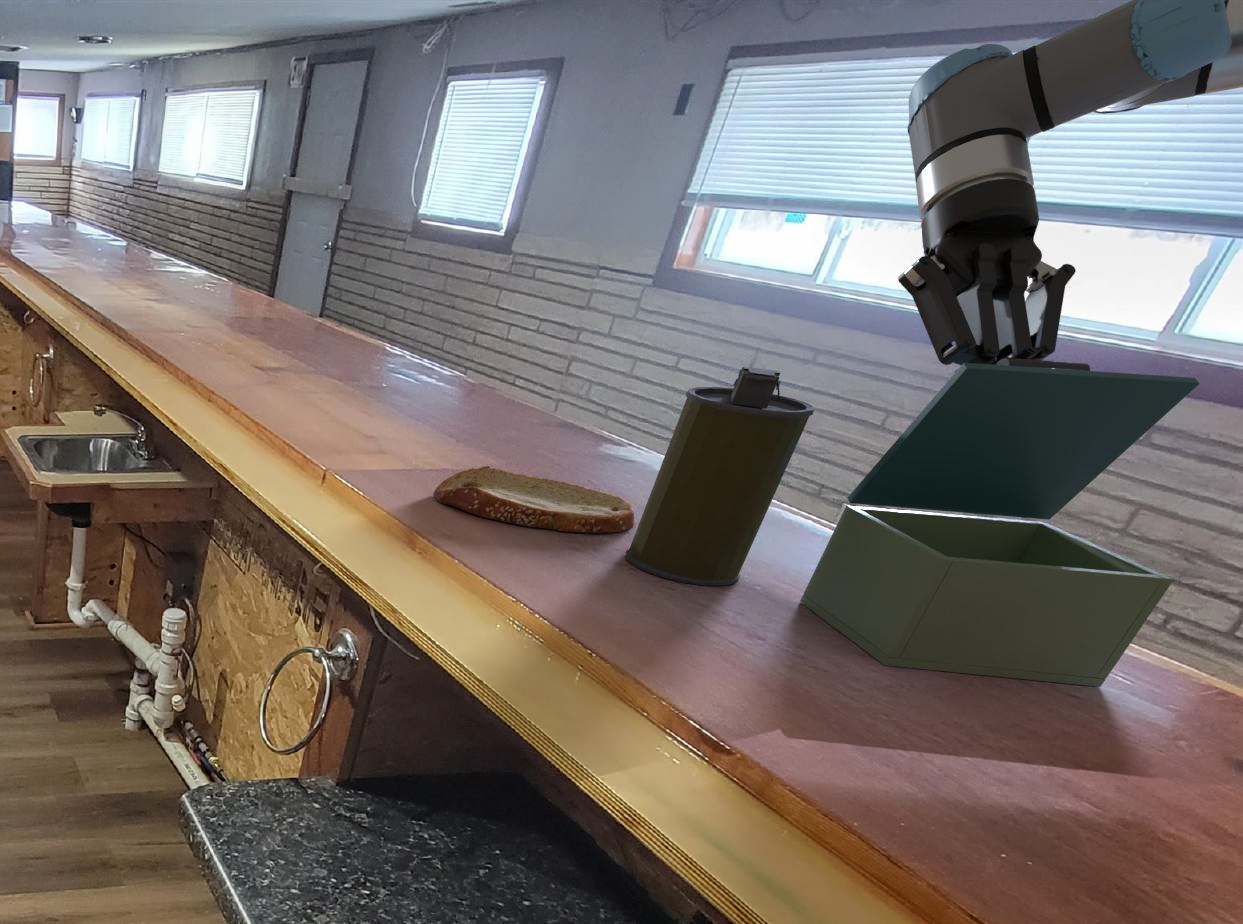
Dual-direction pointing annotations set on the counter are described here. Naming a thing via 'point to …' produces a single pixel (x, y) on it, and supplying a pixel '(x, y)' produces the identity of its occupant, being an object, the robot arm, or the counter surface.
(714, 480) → the canister
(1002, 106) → the robot arm
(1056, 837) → the counter surface
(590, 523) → the bread slice
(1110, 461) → the lid
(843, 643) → the counter surface
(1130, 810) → the counter surface
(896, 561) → the box
